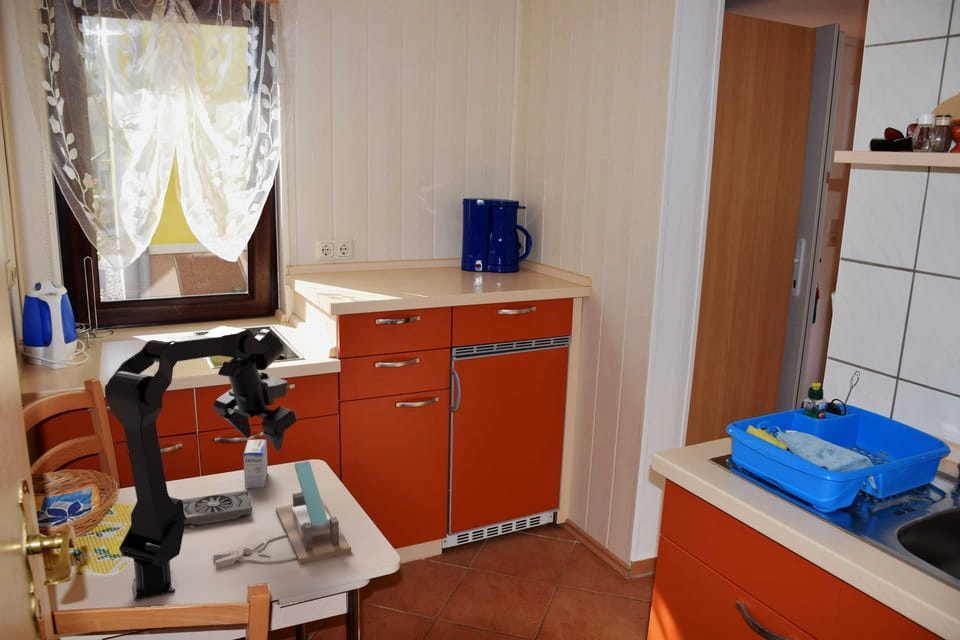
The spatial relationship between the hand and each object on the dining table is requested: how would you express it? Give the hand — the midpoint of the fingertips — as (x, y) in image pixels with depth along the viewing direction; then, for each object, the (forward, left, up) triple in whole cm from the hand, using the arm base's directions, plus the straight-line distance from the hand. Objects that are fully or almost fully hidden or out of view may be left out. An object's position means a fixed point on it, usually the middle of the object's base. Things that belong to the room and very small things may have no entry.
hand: (263, 443), depth 158 cm
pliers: (-18, +6, -15) cm, 24 cm away
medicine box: (+14, 0, -15) cm, 21 cm away
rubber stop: (-6, -6, -15) cm, 17 cm away
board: (-14, -6, -15) cm, 21 cm away
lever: (-14, -6, -7) cm, 17 cm away
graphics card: (0, +12, -16) cm, 19 cm away
